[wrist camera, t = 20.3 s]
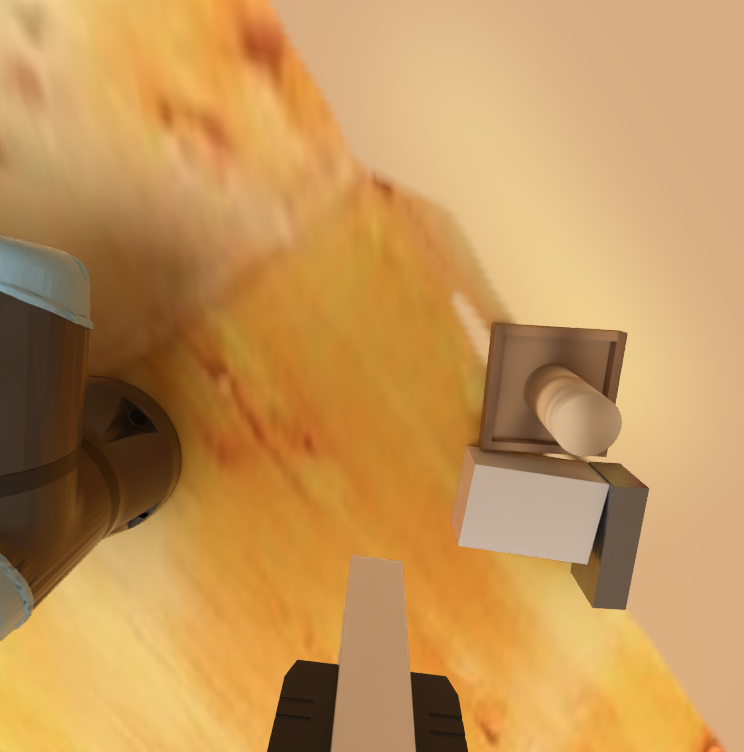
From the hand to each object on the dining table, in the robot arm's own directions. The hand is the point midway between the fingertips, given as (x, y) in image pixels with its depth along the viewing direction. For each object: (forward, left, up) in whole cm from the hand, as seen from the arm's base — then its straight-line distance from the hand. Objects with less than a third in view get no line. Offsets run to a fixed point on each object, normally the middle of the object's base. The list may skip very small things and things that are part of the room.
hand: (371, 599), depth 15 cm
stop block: (+23, -14, -34) cm, 43 cm away
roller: (+16, -1, -33) cm, 37 cm away
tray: (+16, -1, -34) cm, 37 cm away
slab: (+15, -12, -34) cm, 39 cm away
